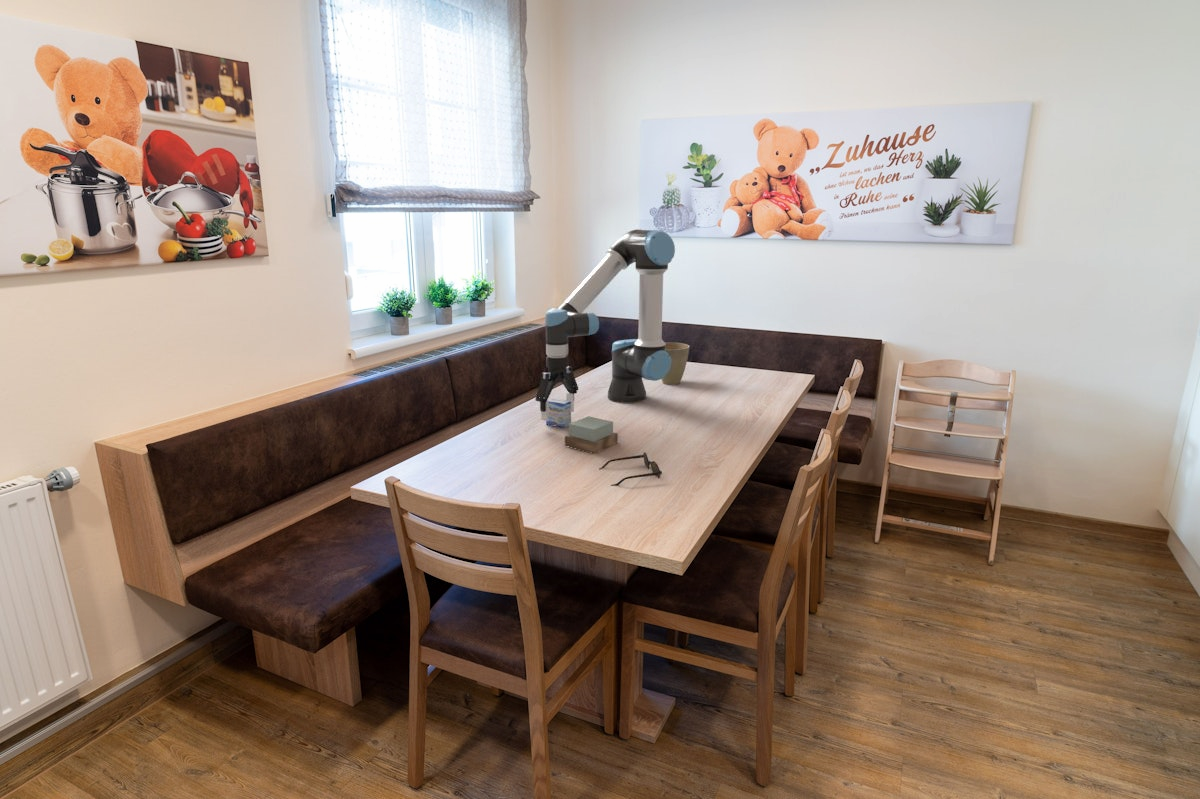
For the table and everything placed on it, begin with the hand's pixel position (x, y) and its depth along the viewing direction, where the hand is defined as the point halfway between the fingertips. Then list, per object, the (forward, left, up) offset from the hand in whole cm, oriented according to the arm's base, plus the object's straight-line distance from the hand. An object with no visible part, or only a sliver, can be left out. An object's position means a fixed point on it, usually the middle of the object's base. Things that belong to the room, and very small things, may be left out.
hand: (557, 415), depth 250 cm
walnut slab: (+10, +22, -4) cm, 24 cm away
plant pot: (-72, +2, -4) cm, 72 cm away
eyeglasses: (+24, +46, -4) cm, 52 cm away
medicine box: (0, 0, -4) cm, 4 cm away
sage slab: (+10, +22, 0) cm, 24 cm away
